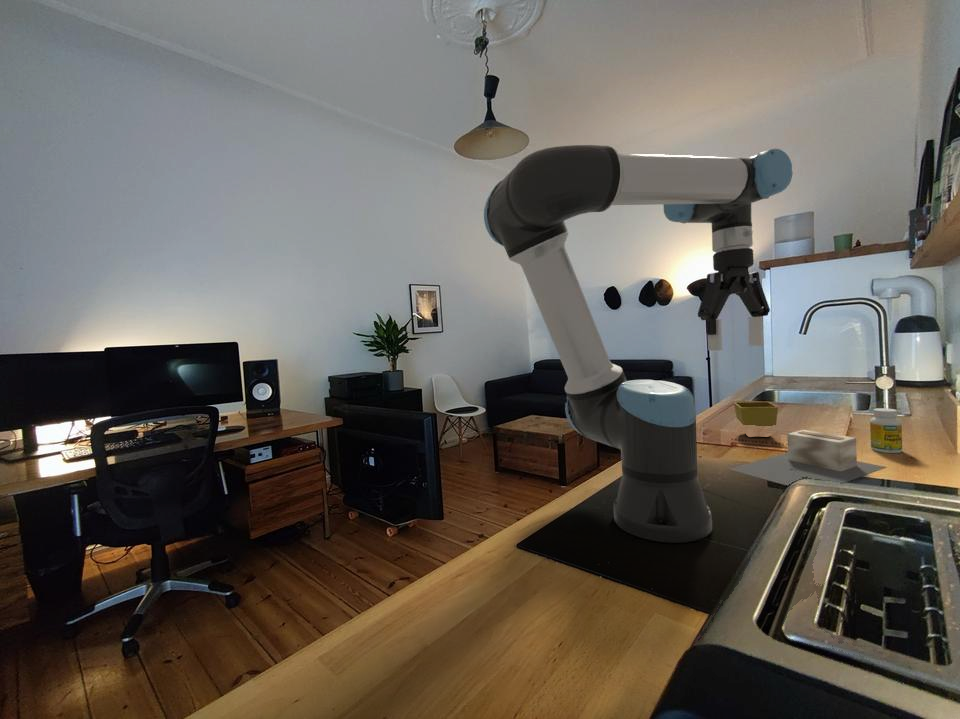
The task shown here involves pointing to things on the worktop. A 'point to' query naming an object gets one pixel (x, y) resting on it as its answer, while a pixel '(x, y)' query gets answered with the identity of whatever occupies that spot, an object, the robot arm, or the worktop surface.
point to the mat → (800, 470)
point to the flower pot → (756, 413)
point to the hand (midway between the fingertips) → (736, 348)
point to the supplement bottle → (886, 431)
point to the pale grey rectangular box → (822, 449)
